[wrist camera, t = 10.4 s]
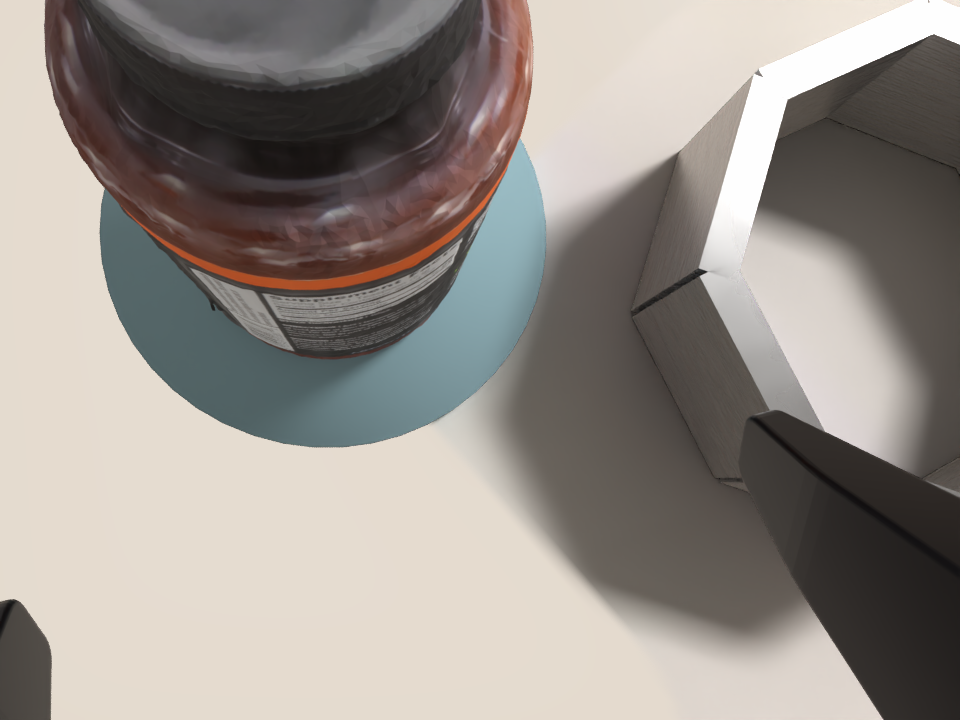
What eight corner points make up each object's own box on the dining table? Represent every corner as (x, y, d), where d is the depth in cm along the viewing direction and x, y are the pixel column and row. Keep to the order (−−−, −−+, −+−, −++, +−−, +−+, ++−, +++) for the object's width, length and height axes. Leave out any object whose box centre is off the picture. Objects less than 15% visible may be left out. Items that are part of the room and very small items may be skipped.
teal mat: (219, 526, 17) (216, 528, 17) (33, 124, 18) (25, 116, 17) (613, 332, 19) (618, 329, 19) (430, -25, 20) (431, -35, 19)
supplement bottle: (190, 115, 18) (-104, -471, 7) (451, 109, 19) (569, -417, 8) (201, 376, 17) (-107, 198, 6) (472, 357, 18) (640, 171, 7)
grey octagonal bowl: (778, 602, 19) (888, 636, 15) (571, 199, 19) (622, 128, 15) (1115, 402, 21) (1291, 385, 17) (916, 44, 21) (1039, -54, 17)
